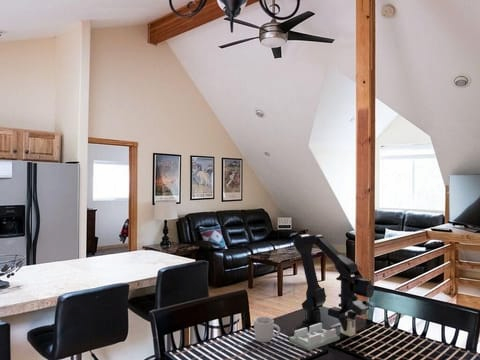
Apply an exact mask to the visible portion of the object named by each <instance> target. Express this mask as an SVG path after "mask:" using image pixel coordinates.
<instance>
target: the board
mask: <svg viewBox="0 0 480 360" xmlns="http://www.w3.org/2000/svg"><path fill="white" fill-rule="evenodd" d="M308 327H309V329H308ZM308 327H302V328H299V329H295V330H293V334H294V335H293V336H290V337H289V341H290V342H292V343H293V344H296V345H299V346H300V345H301V346H300V347H302V348H304V349H306V350H308V351H312V350H314V349H318V348H320V347H322V346H325V345H328V344H331V343H334V342H337V341H339V340H340V339H341V338H340V336H339V335H337V329H336V327H334V328H331V329H328V330H327V329H324V328H323V322H321V323H318V324H314V325H312V324H310V326H308Z"/></svg>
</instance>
